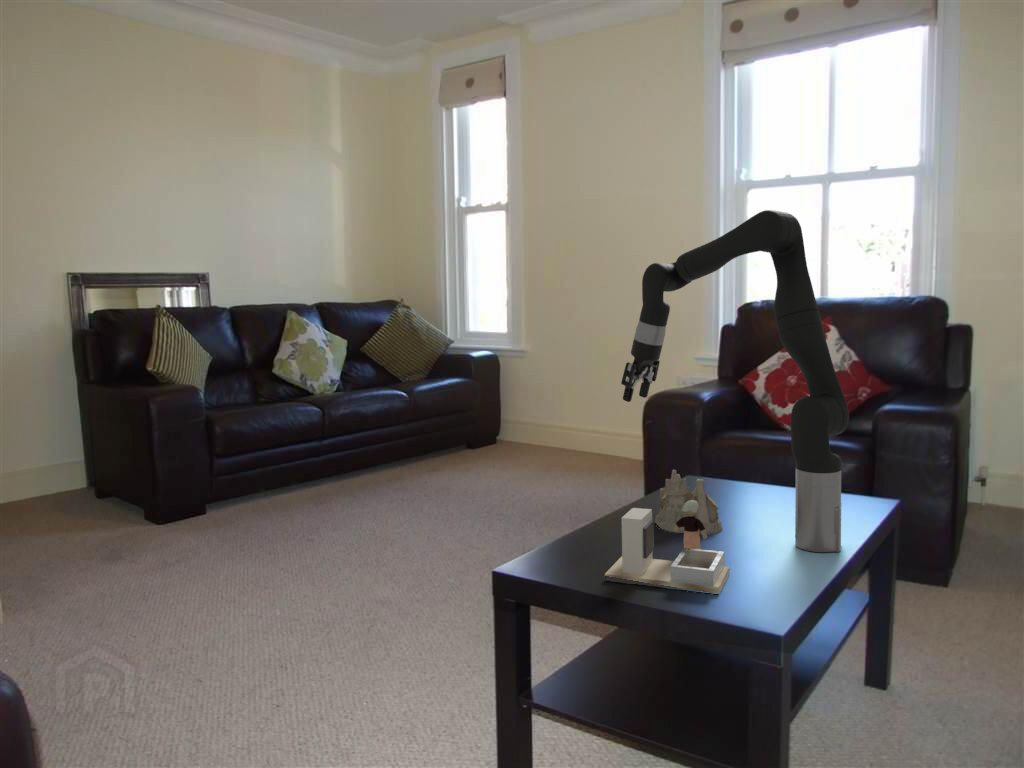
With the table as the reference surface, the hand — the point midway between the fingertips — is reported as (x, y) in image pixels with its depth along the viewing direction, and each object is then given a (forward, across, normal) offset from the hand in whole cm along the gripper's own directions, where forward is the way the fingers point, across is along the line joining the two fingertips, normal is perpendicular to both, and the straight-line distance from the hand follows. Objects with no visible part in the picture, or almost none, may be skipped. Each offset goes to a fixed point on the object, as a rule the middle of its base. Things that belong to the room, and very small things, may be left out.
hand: (634, 398), depth 208 cm
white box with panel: (+18, -47, -33) cm, 60 cm away
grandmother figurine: (+19, -33, -38) cm, 53 cm away
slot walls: (+15, -44, -44) cm, 64 cm away
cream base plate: (+18, -46, -39) cm, 63 cm away
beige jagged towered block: (+22, -10, -27) cm, 36 cm away
